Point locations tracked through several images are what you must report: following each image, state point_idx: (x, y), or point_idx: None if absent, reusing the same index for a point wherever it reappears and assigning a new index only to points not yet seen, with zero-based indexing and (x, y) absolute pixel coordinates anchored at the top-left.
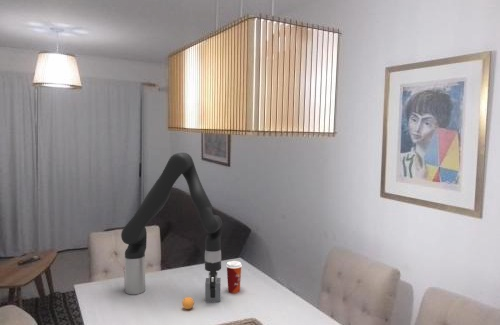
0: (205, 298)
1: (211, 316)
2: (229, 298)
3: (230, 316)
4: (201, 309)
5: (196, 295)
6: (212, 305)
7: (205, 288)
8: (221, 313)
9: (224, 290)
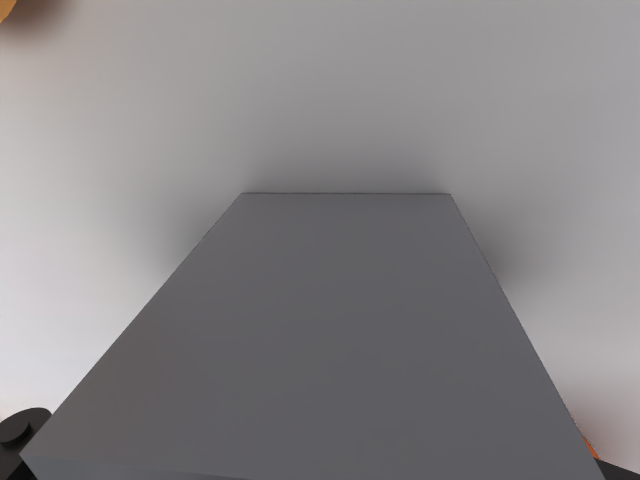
0: (223, 218)
1: None
2: None
3: (19, 388)
4: (40, 157)
5: (514, 24)
6: (173, 272)
7: (130, 329)
8: (38, 338)
9: (578, 392)
